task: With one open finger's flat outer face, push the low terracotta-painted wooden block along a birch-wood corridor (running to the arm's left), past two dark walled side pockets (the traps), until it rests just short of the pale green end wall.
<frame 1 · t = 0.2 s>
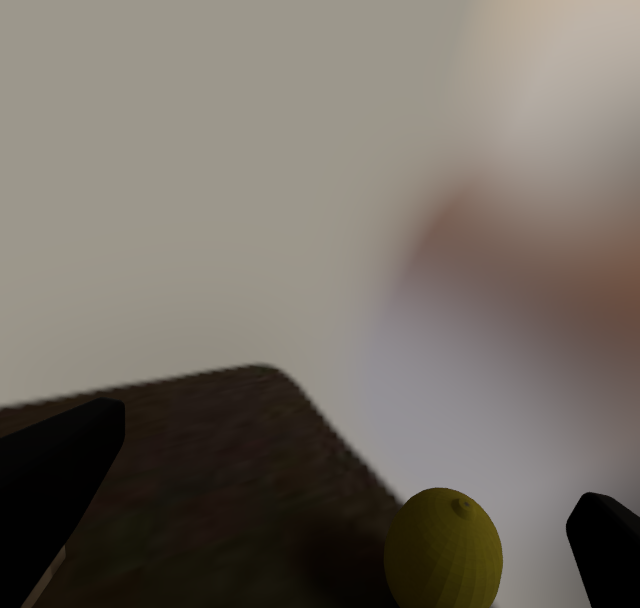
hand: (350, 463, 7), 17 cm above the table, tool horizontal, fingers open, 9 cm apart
lemon: (416, 605, 21), on the table
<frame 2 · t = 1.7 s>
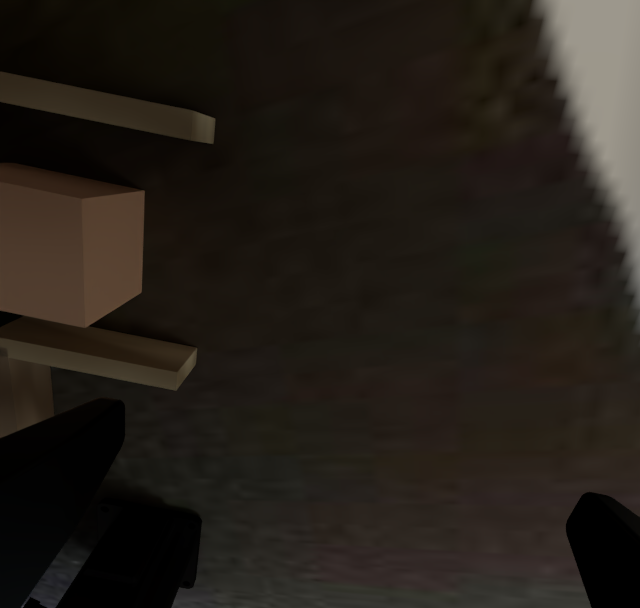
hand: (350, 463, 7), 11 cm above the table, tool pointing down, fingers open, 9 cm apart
block: (82, 230, 18), on the table
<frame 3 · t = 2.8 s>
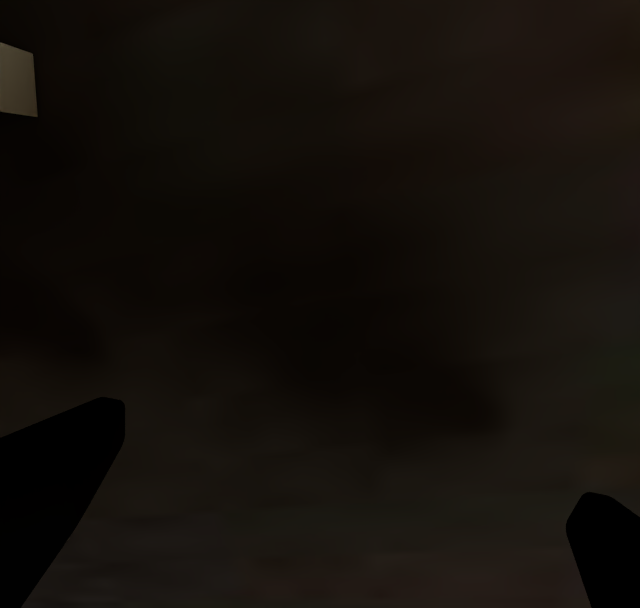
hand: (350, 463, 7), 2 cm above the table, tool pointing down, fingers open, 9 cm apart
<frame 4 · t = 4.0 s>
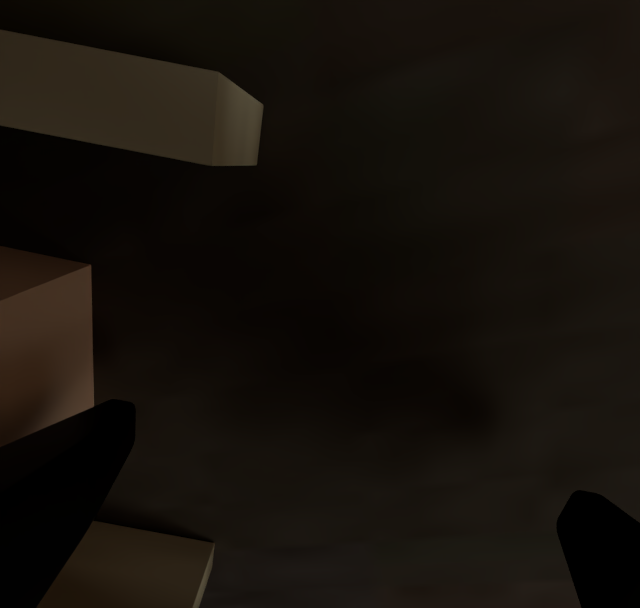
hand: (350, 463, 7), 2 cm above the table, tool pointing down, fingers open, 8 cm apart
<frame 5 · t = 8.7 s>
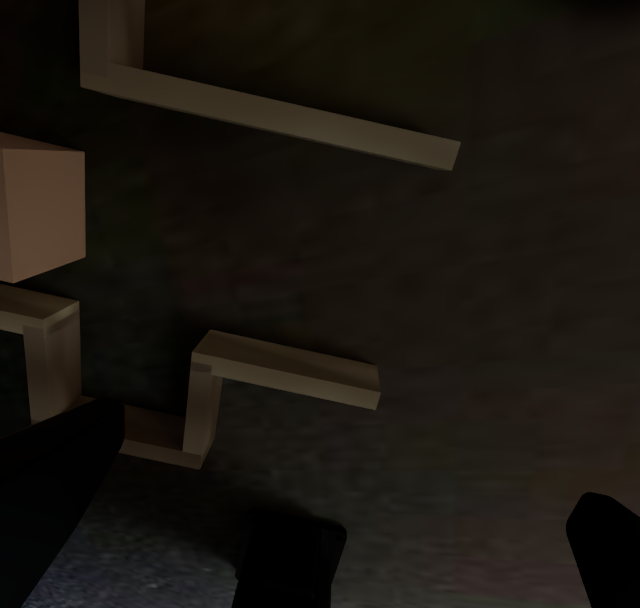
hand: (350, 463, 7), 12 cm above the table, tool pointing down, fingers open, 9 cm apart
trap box: (179, 227, 18), on the table
block: (24, 192, 18), on the table
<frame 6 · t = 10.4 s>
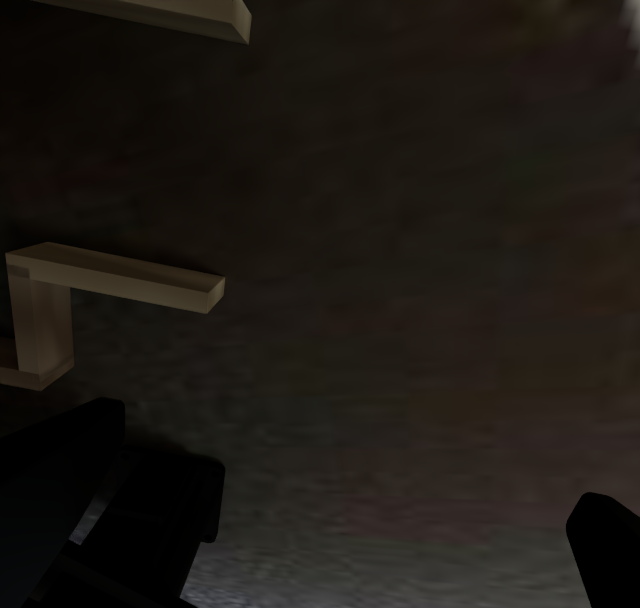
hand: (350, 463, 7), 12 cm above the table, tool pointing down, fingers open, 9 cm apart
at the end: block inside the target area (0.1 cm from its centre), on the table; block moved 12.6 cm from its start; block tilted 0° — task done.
